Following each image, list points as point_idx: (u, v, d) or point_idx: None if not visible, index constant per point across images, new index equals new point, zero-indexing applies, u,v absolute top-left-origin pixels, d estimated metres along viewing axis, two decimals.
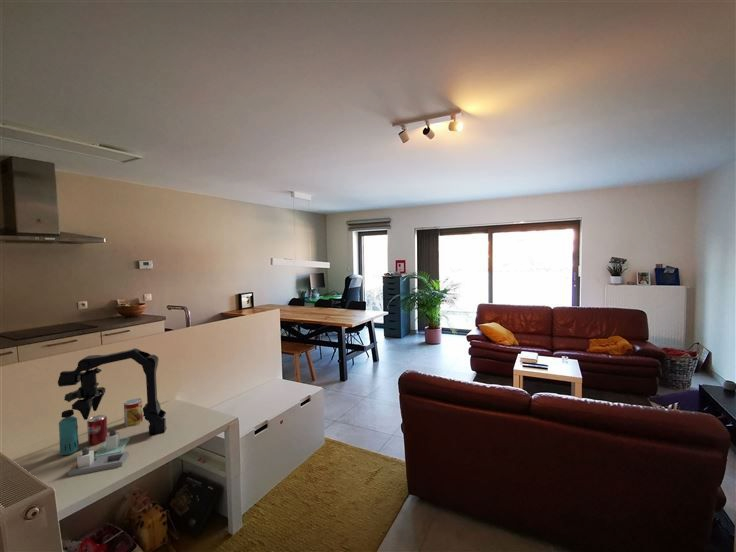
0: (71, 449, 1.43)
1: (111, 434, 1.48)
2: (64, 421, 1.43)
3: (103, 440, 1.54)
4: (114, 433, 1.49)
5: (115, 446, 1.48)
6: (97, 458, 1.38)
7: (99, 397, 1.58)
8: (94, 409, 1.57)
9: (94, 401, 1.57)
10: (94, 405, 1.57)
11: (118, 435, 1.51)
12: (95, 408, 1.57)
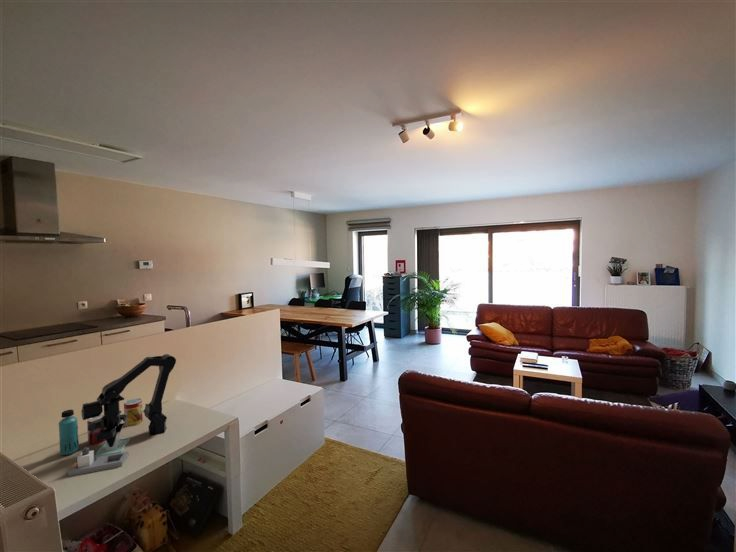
0: (71, 449, 1.43)
1: None
2: (64, 421, 1.43)
3: (103, 440, 1.54)
4: None
5: (115, 446, 1.48)
6: (97, 458, 1.38)
7: (119, 427, 1.52)
8: None
9: None
10: None
11: (118, 435, 1.51)
12: None
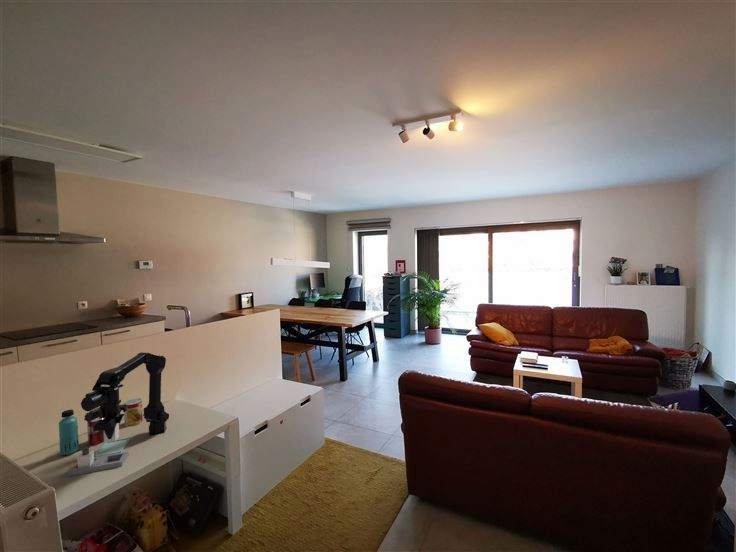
0: (71, 449, 1.43)
1: None
2: (64, 421, 1.43)
3: (103, 440, 1.54)
4: None
5: (114, 438, 1.36)
6: (97, 458, 1.38)
7: (119, 418, 1.41)
8: None
9: None
10: None
11: (117, 426, 1.39)
12: None
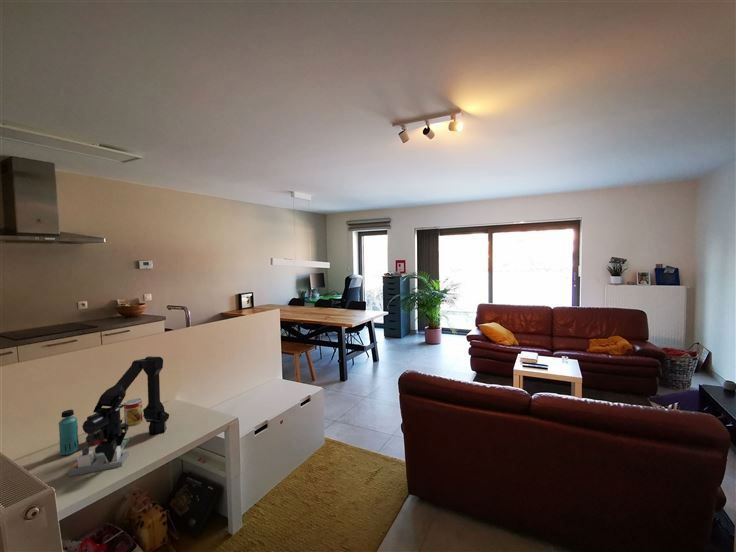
0: (71, 449, 1.43)
1: None
2: (64, 421, 1.43)
3: (103, 440, 1.54)
4: None
5: None
6: (97, 458, 1.38)
7: (121, 437, 1.42)
8: None
9: (116, 441, 1.41)
10: None
11: (119, 449, 1.39)
12: None
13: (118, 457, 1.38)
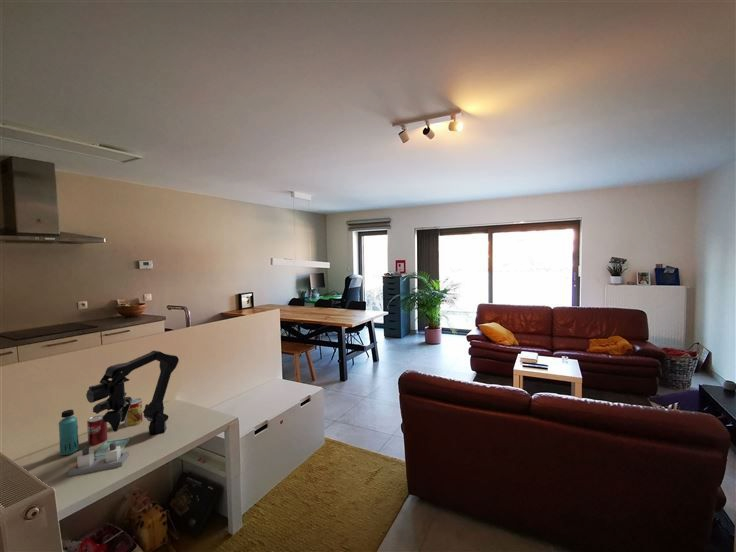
0: (71, 449, 1.43)
1: (111, 448, 1.37)
2: (64, 421, 1.43)
3: (103, 440, 1.54)
4: (114, 447, 1.38)
5: None
6: (97, 458, 1.38)
7: (126, 407, 1.52)
8: (121, 420, 1.51)
9: (121, 411, 1.51)
10: (121, 416, 1.51)
11: (119, 449, 1.39)
12: (122, 419, 1.51)
13: (118, 457, 1.38)
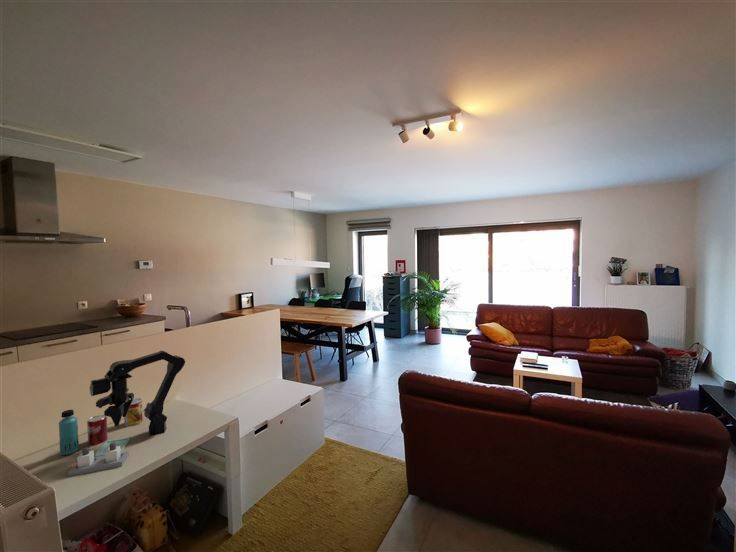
0: (71, 449, 1.43)
1: (111, 448, 1.37)
2: (64, 421, 1.43)
3: (103, 440, 1.54)
4: (114, 447, 1.38)
5: None
6: (97, 458, 1.38)
7: (128, 403, 1.56)
8: (123, 415, 1.55)
9: (124, 407, 1.55)
10: (123, 411, 1.55)
11: (119, 449, 1.39)
12: (124, 414, 1.55)
13: (118, 457, 1.38)
